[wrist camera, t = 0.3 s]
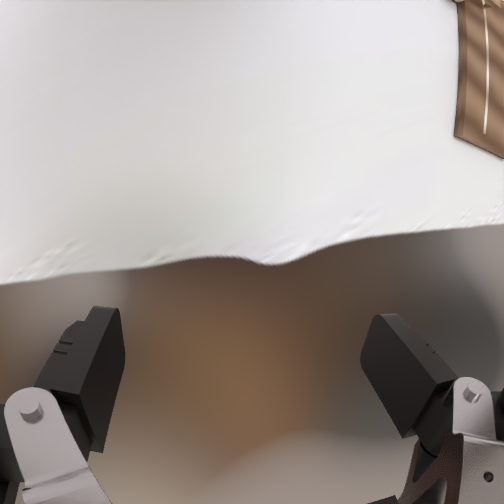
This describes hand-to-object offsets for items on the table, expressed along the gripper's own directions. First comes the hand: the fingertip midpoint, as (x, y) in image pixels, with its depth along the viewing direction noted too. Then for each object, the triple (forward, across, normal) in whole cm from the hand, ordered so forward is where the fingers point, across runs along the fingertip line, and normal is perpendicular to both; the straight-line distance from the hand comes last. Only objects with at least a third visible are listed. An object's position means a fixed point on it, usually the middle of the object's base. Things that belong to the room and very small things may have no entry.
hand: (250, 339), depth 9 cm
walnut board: (+29, -40, -28) cm, 57 cm away
